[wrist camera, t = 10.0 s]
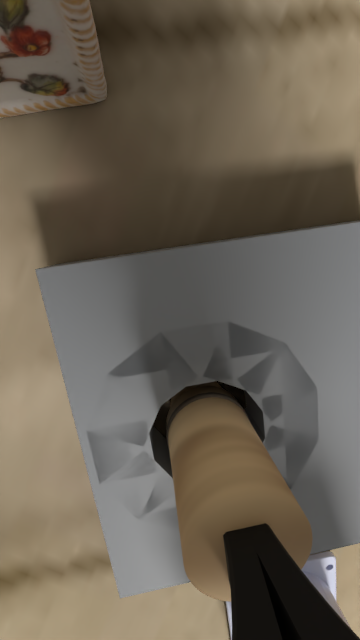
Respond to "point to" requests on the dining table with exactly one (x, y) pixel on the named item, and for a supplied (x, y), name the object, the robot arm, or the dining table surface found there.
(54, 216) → the dining table surface
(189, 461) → the oak peg
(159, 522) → the grey peg hole board
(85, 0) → the decorative jar
